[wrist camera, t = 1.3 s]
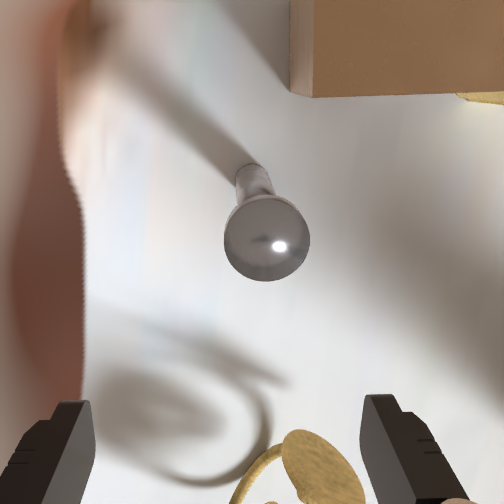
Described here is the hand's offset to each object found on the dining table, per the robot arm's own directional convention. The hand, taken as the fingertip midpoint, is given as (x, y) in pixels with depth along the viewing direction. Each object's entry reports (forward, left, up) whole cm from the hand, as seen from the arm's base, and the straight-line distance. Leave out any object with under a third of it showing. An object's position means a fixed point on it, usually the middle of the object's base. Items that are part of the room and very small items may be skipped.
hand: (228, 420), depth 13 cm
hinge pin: (-2, -3, -19) cm, 19 cm away
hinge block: (-15, -11, -19) cm, 27 cm away
